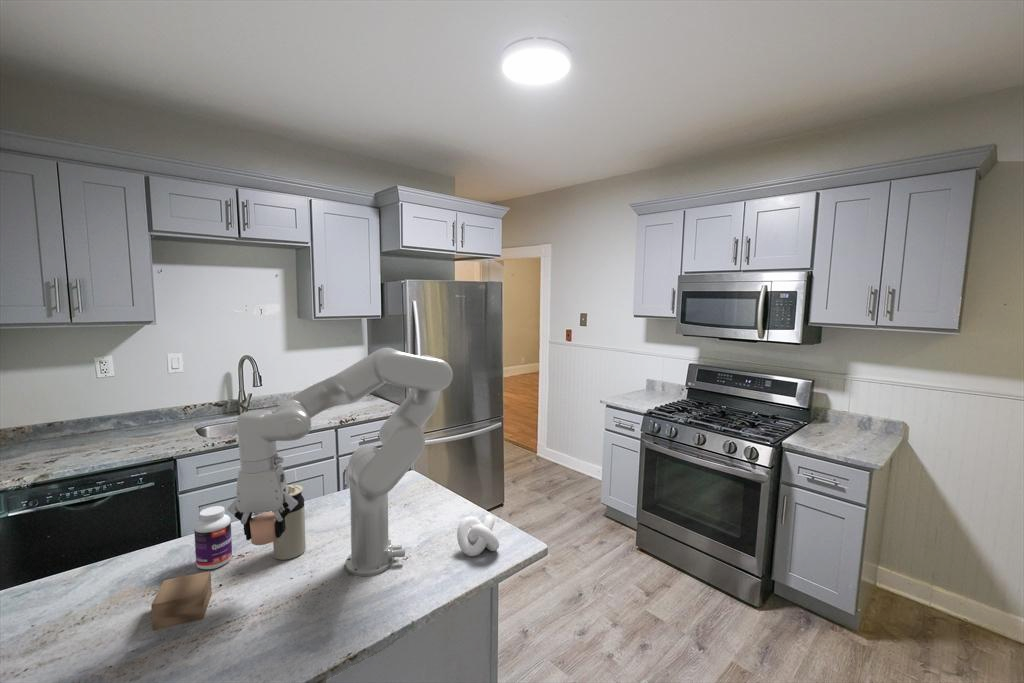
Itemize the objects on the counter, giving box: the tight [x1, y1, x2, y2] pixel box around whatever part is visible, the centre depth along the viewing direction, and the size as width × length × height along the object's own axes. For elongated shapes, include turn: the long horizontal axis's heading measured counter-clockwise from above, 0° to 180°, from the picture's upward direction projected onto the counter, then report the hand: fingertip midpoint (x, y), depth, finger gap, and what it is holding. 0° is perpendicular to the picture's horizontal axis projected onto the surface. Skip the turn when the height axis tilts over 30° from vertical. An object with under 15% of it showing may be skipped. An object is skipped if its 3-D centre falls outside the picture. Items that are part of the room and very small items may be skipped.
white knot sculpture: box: [456, 513, 500, 557], centre depth 127 cm, size 11×12×9 cm
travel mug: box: [271, 484, 307, 560], centre depth 124 cm, size 8×8×18 cm
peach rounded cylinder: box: [250, 511, 278, 546], centre depth 107 cm, size 6×6×5 cm
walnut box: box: [150, 570, 213, 631], centre depth 101 cm, size 9×9×6 cm
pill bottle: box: [193, 505, 233, 570], centre depth 119 cm, size 8×8×14 cm
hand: (265, 535), depth 107 cm, fingers closed on peach rounded cylinder, 6 cm apart
